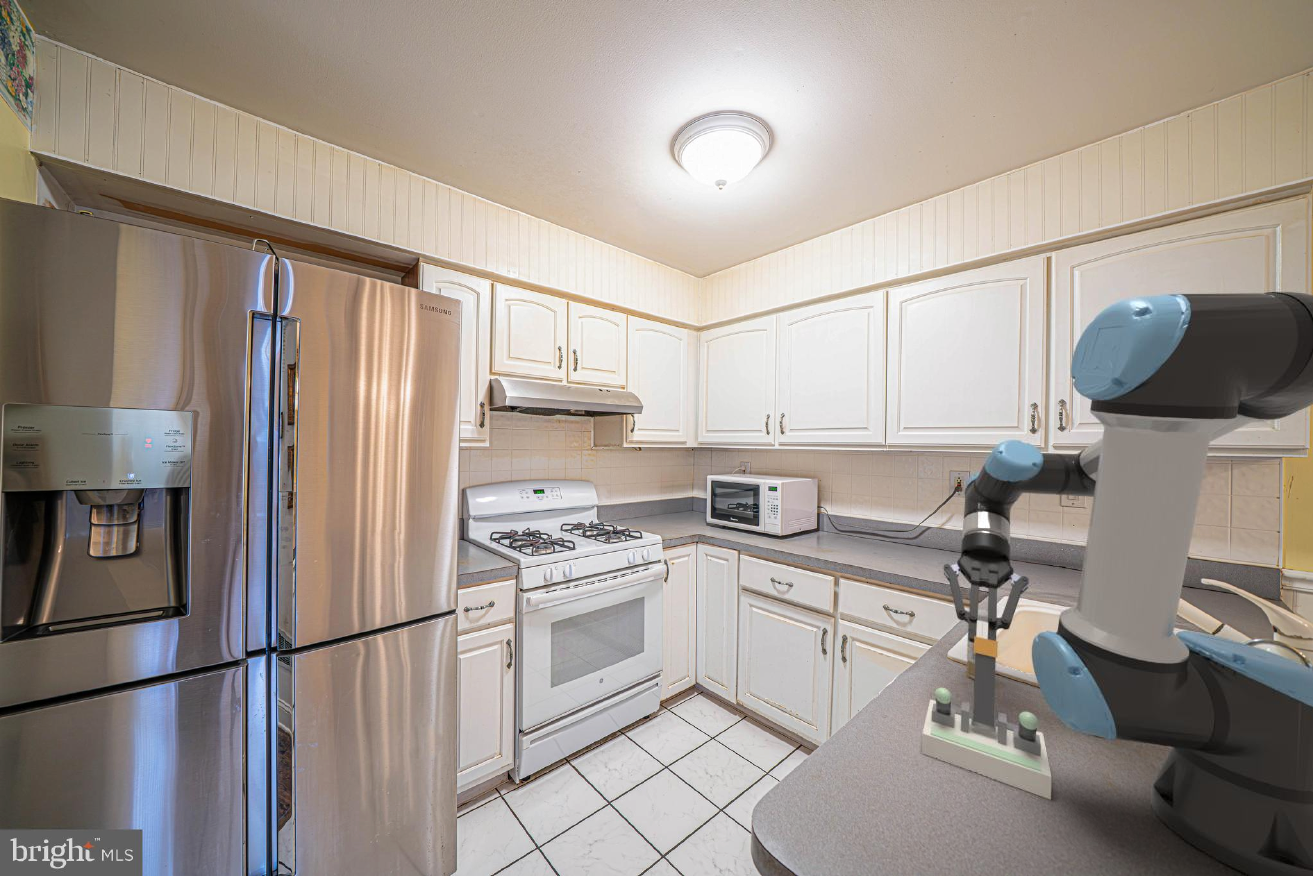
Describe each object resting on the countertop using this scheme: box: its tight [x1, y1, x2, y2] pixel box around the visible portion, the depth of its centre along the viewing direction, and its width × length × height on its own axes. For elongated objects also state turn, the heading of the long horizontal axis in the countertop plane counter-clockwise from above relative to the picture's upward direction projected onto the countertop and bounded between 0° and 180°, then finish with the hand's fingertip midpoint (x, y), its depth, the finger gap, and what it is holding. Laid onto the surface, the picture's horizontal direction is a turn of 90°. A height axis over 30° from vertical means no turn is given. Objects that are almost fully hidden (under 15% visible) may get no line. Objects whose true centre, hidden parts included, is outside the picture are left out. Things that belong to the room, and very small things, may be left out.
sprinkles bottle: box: [965, 608, 988, 680], centre depth 96 cm, size 5×5×13 cm
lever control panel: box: [921, 687, 1053, 801], centre depth 72 cm, size 15×12×9 cm
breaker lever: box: [971, 636, 999, 733], centre depth 73 cm, size 3×2×13 cm
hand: (981, 662), depth 76 cm, fingers closed
